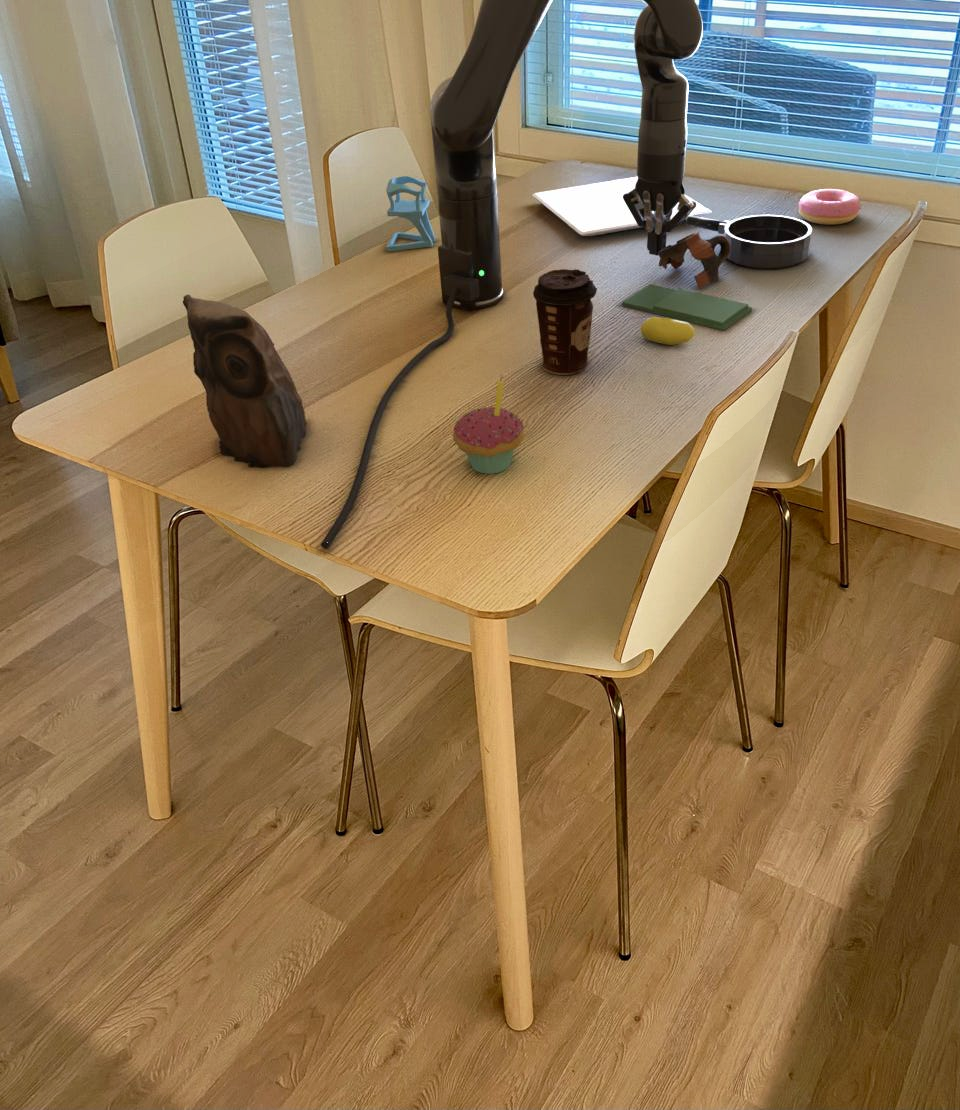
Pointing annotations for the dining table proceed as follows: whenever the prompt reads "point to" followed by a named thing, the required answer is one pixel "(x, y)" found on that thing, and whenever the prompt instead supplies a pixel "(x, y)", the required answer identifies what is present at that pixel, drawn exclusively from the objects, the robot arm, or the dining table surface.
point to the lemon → (666, 330)
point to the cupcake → (489, 436)
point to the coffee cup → (564, 319)
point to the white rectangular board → (599, 207)
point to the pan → (768, 241)
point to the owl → (245, 385)
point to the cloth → (688, 306)
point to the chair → (409, 213)
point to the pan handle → (707, 223)
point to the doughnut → (829, 206)
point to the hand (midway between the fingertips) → (656, 253)
